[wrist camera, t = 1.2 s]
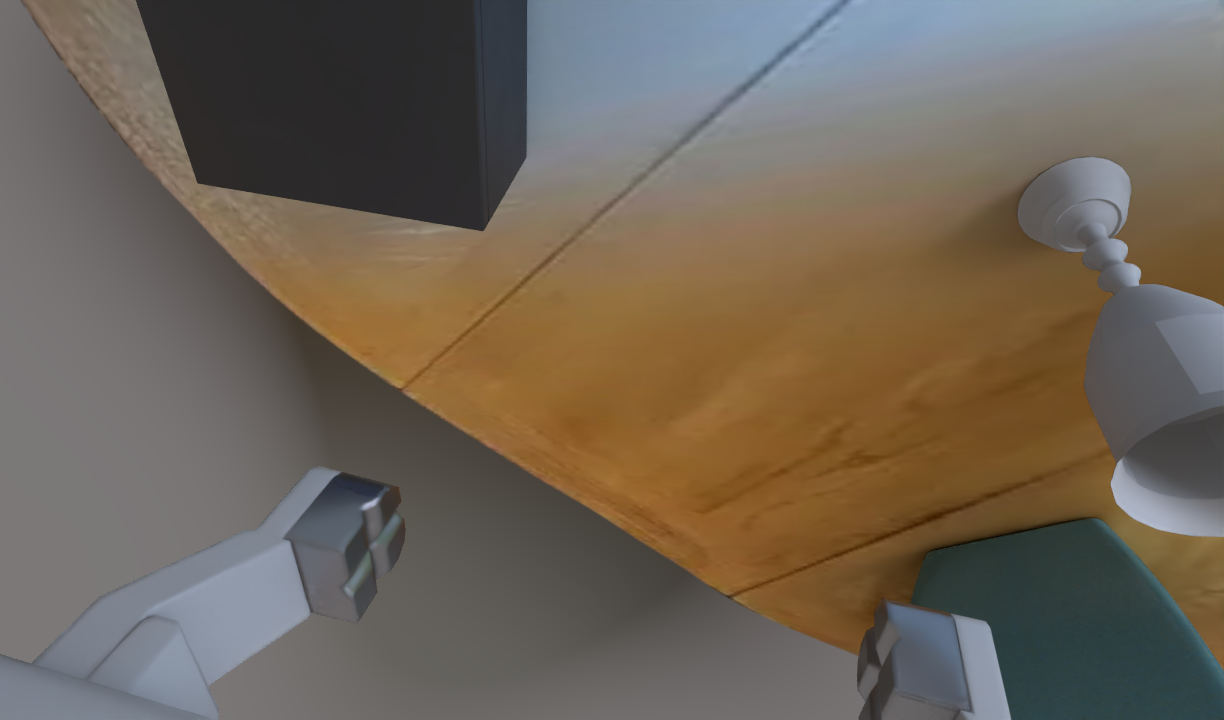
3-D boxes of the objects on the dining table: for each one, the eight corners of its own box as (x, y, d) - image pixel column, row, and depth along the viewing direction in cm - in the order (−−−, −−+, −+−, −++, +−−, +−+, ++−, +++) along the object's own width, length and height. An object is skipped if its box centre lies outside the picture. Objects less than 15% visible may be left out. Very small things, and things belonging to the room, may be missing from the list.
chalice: (977, 255, 40) (1078, 524, 26) (1017, 137, 35) (1163, 388, 22) (1123, 263, 38) (1306, 547, 25) (1183, 142, 34) (1445, 410, 21)
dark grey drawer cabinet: (190, -262, 30) (47, -259, 24) (528, -221, 29) (465, -207, 23) (279, 118, 41) (197, 184, 35) (526, 157, 40) (483, 232, 34)
